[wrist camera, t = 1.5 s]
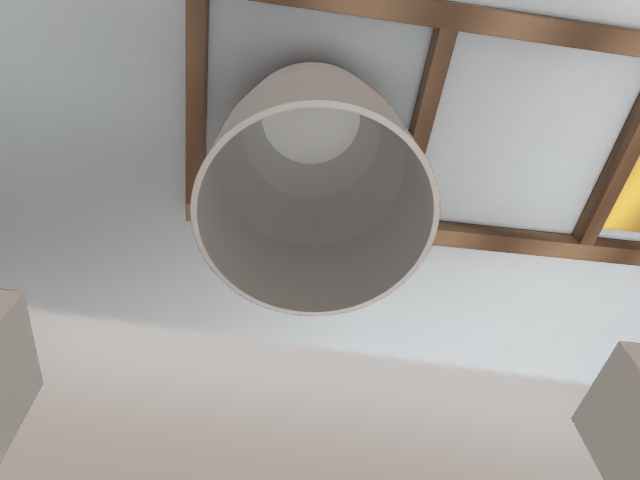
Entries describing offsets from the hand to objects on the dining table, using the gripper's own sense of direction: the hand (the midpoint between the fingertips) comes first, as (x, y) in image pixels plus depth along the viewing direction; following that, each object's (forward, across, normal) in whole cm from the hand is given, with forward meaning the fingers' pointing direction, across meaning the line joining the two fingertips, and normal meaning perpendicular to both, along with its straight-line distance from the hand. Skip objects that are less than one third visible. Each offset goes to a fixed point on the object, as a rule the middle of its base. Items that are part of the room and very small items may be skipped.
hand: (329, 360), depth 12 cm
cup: (+16, 0, 0) cm, 16 cm away
